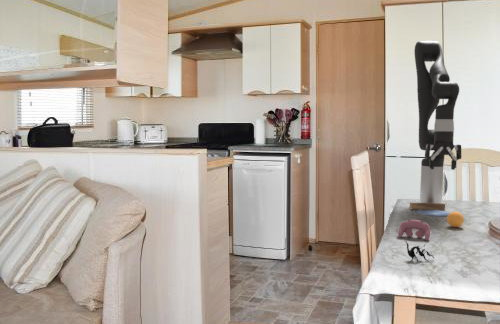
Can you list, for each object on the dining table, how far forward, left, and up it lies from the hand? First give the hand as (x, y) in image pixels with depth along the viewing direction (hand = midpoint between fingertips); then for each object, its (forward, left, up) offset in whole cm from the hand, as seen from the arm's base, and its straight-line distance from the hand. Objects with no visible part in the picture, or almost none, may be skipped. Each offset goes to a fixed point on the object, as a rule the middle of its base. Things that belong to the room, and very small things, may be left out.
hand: (442, 169), depth 208 cm
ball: (+32, -5, -14) cm, 35 cm away
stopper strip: (-1, -5, -17) cm, 18 cm away
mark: (+7, -5, -17) cm, 19 cm away
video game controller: (+49, -24, -18) cm, 57 cm away
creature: (+74, -29, -18) cm, 81 cm away
